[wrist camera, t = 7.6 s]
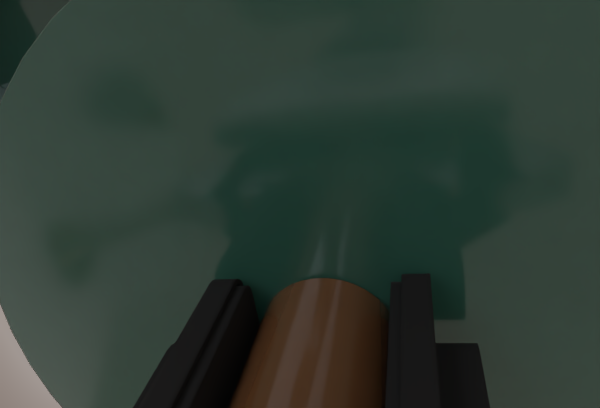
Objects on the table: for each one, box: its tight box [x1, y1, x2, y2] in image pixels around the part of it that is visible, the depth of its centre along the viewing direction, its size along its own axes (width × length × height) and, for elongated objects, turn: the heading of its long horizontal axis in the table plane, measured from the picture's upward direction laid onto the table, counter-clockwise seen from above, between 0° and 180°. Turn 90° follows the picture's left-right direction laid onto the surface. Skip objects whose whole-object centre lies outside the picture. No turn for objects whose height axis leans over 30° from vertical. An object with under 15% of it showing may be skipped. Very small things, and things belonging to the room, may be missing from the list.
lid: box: [0, 0, 600, 408], centre depth 9 cm, size 16×16×6 cm
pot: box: [0, 0, 70, 102], centre depth 26 cm, size 15×20×7 cm
